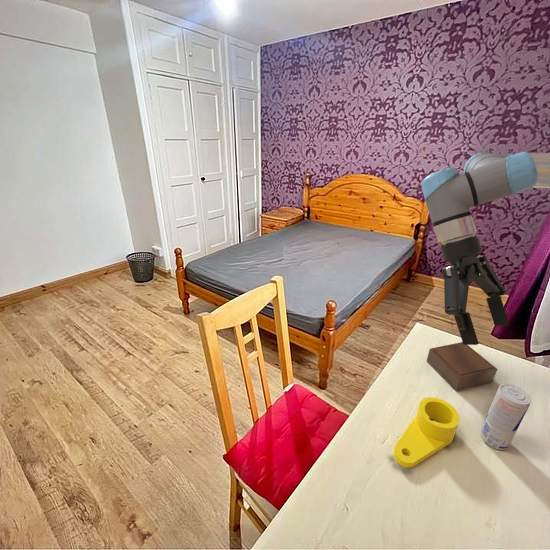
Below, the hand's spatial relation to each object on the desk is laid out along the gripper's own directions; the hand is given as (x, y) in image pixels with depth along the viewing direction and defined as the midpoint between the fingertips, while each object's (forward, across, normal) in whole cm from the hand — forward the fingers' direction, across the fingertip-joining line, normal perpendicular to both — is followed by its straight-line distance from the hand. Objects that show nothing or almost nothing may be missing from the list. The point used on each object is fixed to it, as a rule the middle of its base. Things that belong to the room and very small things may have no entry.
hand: (487, 334), depth 66 cm
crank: (+21, +12, -15) cm, 29 cm away
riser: (+16, -15, -20) cm, 29 cm away
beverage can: (+26, -1, -6) cm, 26 cm away
